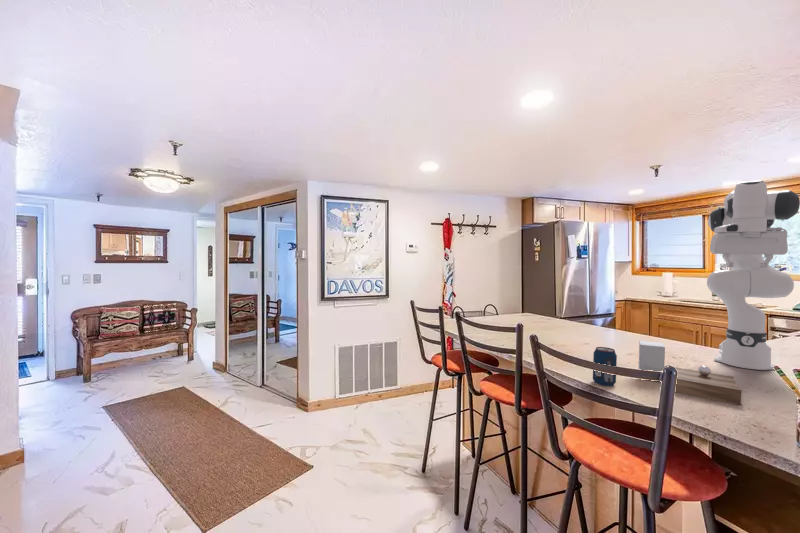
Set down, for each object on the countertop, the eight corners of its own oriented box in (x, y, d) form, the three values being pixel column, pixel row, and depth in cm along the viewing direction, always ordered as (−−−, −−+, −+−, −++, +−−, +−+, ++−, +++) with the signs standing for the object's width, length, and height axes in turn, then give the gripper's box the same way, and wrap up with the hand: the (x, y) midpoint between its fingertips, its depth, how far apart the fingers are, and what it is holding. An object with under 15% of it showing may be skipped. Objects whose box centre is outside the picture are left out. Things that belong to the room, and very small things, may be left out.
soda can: (601, 379, 130) (602, 345, 130) (620, 385, 124) (621, 350, 124) (588, 381, 127) (589, 347, 127) (606, 388, 121) (608, 352, 121)
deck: (675, 374, 138) (676, 362, 138) (733, 383, 128) (733, 370, 128) (673, 392, 119) (674, 378, 119) (740, 405, 109) (741, 390, 109)
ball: (697, 373, 130) (697, 363, 130) (710, 375, 128) (710, 365, 128) (697, 376, 128) (698, 366, 128) (710, 378, 126) (711, 368, 125)
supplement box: (662, 377, 134) (663, 342, 133) (664, 383, 127) (665, 346, 127) (637, 373, 138) (639, 340, 137) (638, 379, 131) (640, 344, 131)
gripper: (781, 228, 126) (779, 268, 127) (708, 228, 133) (707, 266, 134) (793, 226, 120) (791, 268, 121) (717, 227, 127) (715, 267, 128)
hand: (746, 267), depth 127 cm, fingers open, 8 cm apart
